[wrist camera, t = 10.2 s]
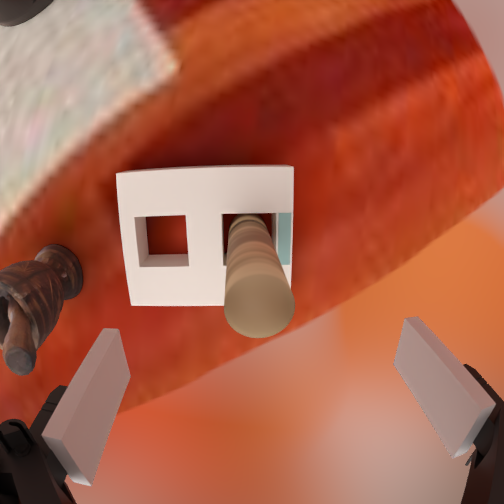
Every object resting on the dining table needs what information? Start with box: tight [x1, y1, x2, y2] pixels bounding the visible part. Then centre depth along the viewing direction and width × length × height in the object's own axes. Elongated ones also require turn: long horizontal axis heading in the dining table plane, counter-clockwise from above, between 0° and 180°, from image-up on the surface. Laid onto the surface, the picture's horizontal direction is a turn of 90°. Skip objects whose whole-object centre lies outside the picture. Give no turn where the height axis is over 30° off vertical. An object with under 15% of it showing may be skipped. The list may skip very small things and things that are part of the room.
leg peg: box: [224, 213, 295, 338], centre depth 27 cm, size 4×4×18 cm
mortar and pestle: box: [0, 244, 83, 375], centre depth 26 cm, size 12×9×20 cm
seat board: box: [116, 165, 294, 306], centre depth 33 cm, size 14×17×4 cm
